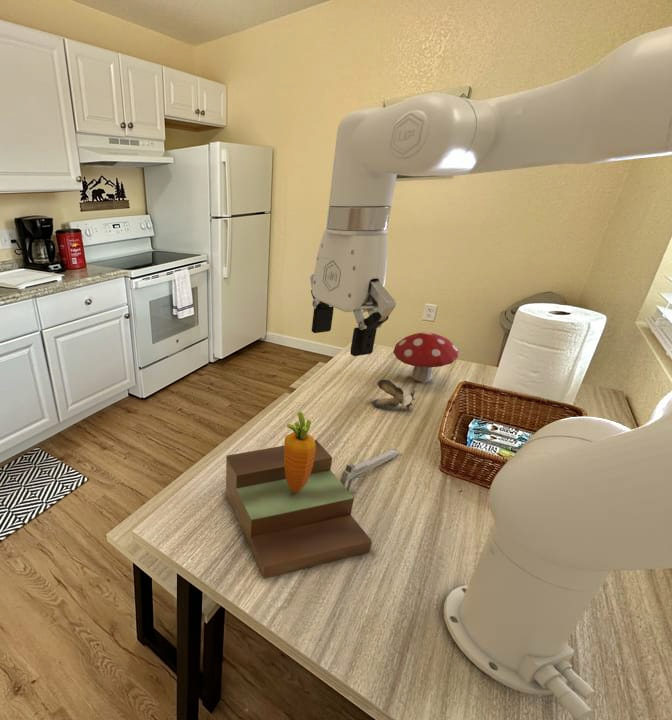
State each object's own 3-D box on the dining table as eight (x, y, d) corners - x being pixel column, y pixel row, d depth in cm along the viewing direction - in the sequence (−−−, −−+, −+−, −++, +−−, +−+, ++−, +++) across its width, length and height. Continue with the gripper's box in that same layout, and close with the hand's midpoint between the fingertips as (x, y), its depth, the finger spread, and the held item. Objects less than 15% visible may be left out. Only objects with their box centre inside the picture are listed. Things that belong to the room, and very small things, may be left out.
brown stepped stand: (369, 552, 61) (379, 509, 57) (263, 578, 57) (267, 534, 53) (311, 476, 77) (316, 439, 73) (225, 493, 73) (226, 455, 69)
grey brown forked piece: (410, 396, 102) (375, 384, 105) (420, 384, 96) (383, 372, 99) (404, 421, 99) (368, 408, 102) (414, 409, 93) (376, 396, 96)
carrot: (304, 508, 61) (314, 429, 55) (275, 496, 63) (281, 420, 57) (313, 489, 65) (324, 413, 59) (285, 479, 67) (292, 405, 61)
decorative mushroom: (455, 398, 103) (470, 346, 97) (390, 389, 109) (400, 339, 103) (443, 373, 117) (456, 326, 111) (386, 366, 122) (395, 321, 116)
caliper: (342, 497, 71) (347, 470, 69) (337, 494, 72) (342, 467, 70) (398, 454, 82) (404, 429, 80) (393, 451, 83) (399, 427, 81)
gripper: (297, 218, 57) (288, 327, 64) (379, 227, 42) (355, 369, 49) (341, 216, 59) (327, 322, 66) (434, 224, 44) (404, 361, 51)
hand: (339, 342), depth 57 cm, fingers open, 9 cm apart
